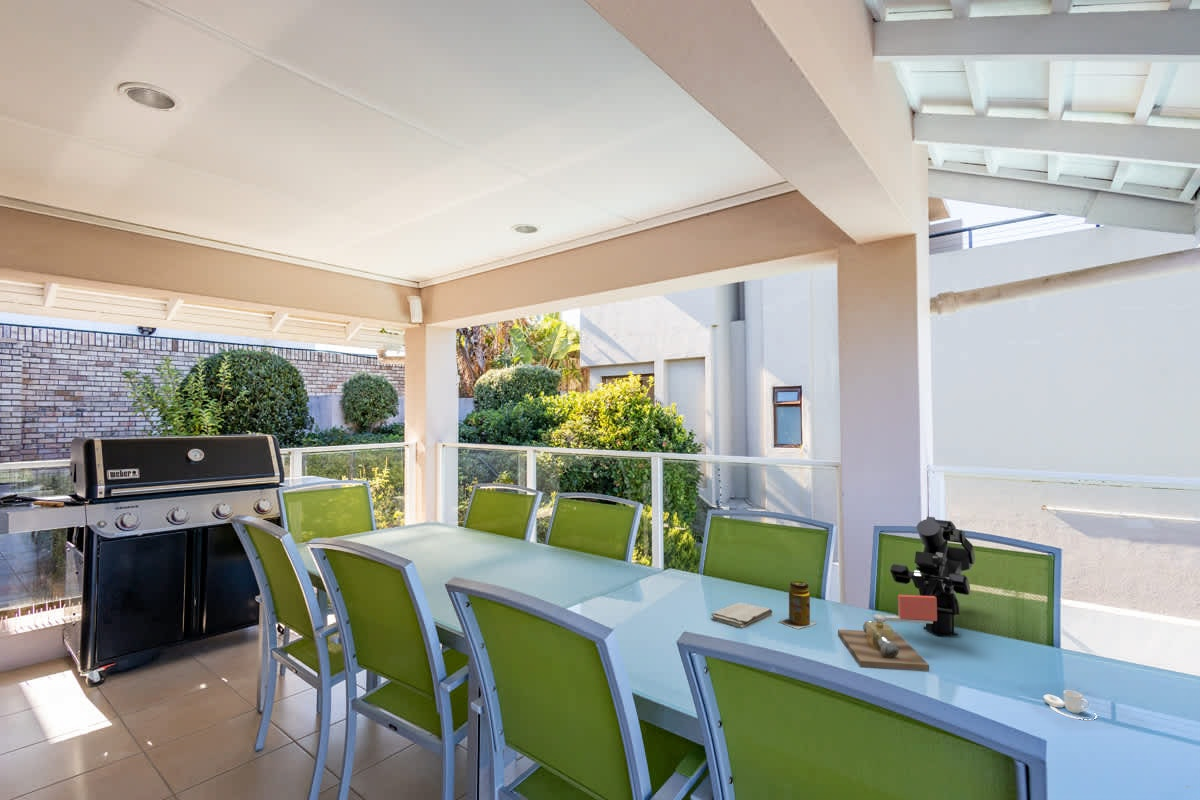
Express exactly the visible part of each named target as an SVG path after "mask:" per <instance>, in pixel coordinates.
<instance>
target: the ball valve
mask: <svg viewBox="0 0 1200 800" xmlns="http://www.w3.org/2000/svg"><path fill="white" fill-rule="evenodd" d="M862 629H863V630H862V631H864V632H865V633H866V641H867V643H868V644H869V645H870V646H871V648H872V649H875V650H879V651H880V652H881V653H882V654H884V655H885V656H886V657H888V658H894V657H896V656H897V654H898V652H899V649H898V647H897V645H896V644H895V643H894V632H895V631H894V629H893V628H892V627H891V626H890V625H889V624H888V623H887V622H877V621H874V620H867V621H865V622H864V623H863V625H862Z"/></svg>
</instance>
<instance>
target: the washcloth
mask: <svg viewBox="0 0 1200 800" xmlns="http://www.w3.org/2000/svg"><path fill="white" fill-rule="evenodd" d="M772 615H773V609H771V608H769V607H768V608H767V607H763V606H757V605H752V604H749V603H746V602H736V603H735V604H731V605H728V606H726V607H724V608H721V609H718V610H715V611H713V612H712V613H711V616H712V617H711V621H712V620H713V621H715V622H718V623H721V624H724V625H728V626H731V627H735V628H738V629H743V628H747V627H750V626H753V625H755V624H756V623H757V624H758V623H759V622H761V621H763V620H766V619H767V618H769V617H771V616H772Z"/></svg>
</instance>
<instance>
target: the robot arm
mask: <svg viewBox="0 0 1200 800" xmlns="http://www.w3.org/2000/svg"><path fill="white" fill-rule="evenodd" d="M916 531H917V533H918V535H919V538H920V542H921V544H922V545H923V550H922V551H918V550H915V553H914V554H915V555H914V564H916V565H915V568H916V570H913V571H912V570H911V571H910V569H909V567H908V565H904V564H897V563H894V564H892V565H891V566H890V573H891V576H892V579H893V582H896V583H899V584H903V585H908V584H909V583H911V580H912V582H913V585H914V587H915V589H918V592H919V596H935V597H936V598H937V621H933V624H930V623H925V626H923V629H924V630H925V631H927V632H929V633H931V634H933V635H934V636H937V637H950V636H951V637H952V636H959V633H958V632H956V631H955V616H959V615H960V605H959V604H960V603H959V601H958V600H959V599H957V598H958V597H957V595H956V594H960V595H965V596H968V595H970V591H971V590H970V589H971V585H970V582H969V578H968V577H967V575H965V574H961V573H962V572H964V571H965V572H966V571H968V570H970V569H971V568H972V567H973V565H974V564H975V563H976V562H975V560H976V558H975V557H976V556H975V555H976V554H975V550H974V546H973V543H971V542H970V541H969V539H968V538H967V537H966V532H965V530H964V531H963V530H962V529H957V527H956V525H955V524H954V523H953V522H952V521H951V520H943V519H942V520H941V519H936V518H935V517H934V516H926V519H923V520H920V522H918V523H917V525H916ZM948 542H949V543H956V544H957V543H958V544H961V547H958V546H952V545H951V546H950V545H948Z"/></svg>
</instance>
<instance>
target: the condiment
mask: <svg viewBox="0 0 1200 800" xmlns="http://www.w3.org/2000/svg"><path fill="white" fill-rule="evenodd" d="M789 585H790V587H789V591H788V618H785V619H782V620H779V621H778V622H779V623H781V624H783V625H786V626H788V627H791V628H794V629H796V630H800V629H802V628H803V629H804V628H806V627H807V628H808V627H811V626H813V625H814V626H815V625H817V623H816V622H812V621H811V614H810V613H811V609H810V608H811V602H810V600H811V599H810V598H811V597H810V592H809V583H808V582H805V581H797V580H796V581H794V580H793V581H791V582H790V583H789Z"/></svg>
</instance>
